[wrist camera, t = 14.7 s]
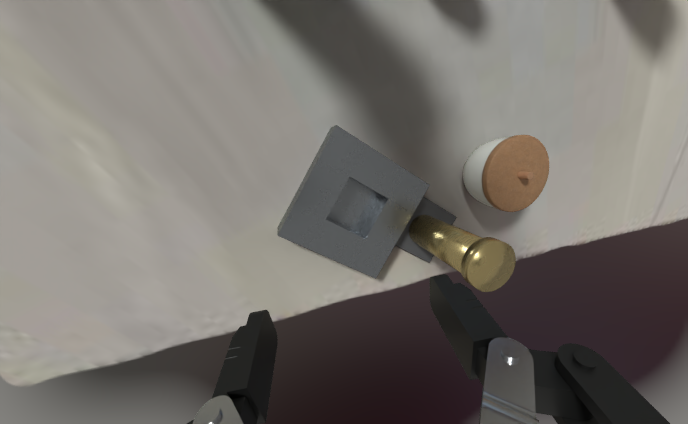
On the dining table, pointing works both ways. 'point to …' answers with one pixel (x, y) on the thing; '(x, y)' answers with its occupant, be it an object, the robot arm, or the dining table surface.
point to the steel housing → (352, 204)
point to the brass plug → (465, 252)
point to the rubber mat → (422, 209)
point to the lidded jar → (507, 172)
